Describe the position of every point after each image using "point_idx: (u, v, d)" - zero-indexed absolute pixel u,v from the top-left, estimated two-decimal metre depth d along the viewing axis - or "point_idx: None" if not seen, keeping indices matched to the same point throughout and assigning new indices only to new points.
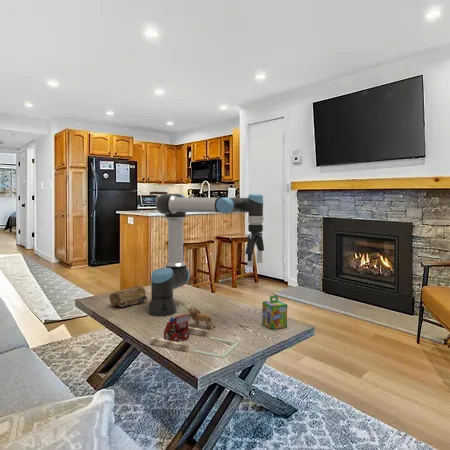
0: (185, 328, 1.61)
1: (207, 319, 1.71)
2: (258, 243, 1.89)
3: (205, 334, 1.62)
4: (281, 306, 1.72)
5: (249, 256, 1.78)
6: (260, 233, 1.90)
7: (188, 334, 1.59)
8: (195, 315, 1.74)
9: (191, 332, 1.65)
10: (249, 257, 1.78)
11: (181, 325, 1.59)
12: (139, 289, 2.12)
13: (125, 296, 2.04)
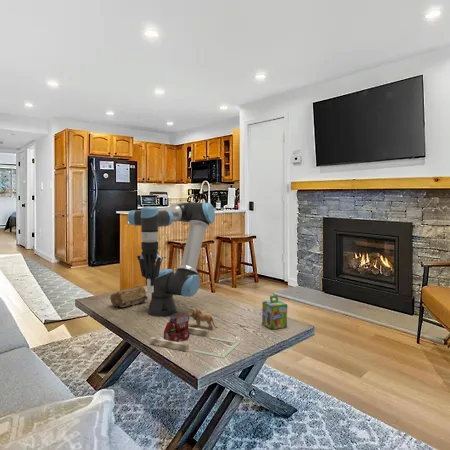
0: (185, 328, 1.61)
1: (209, 319, 1.71)
2: None
3: (205, 334, 1.62)
4: (281, 306, 1.72)
5: None
6: (158, 257, 1.60)
7: (188, 334, 1.59)
8: (197, 315, 1.74)
9: (191, 332, 1.65)
10: None
11: (181, 325, 1.59)
12: (140, 289, 2.12)
13: (127, 296, 2.03)
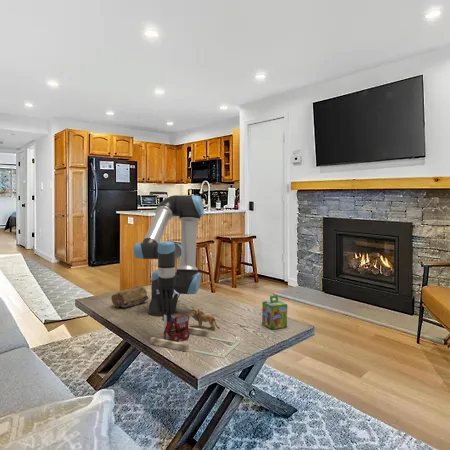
0: (185, 328, 1.61)
1: (211, 320, 1.70)
2: None
3: (205, 334, 1.62)
4: (281, 306, 1.72)
5: None
6: (175, 293, 1.57)
7: (188, 334, 1.59)
8: (198, 316, 1.73)
9: (191, 332, 1.65)
10: None
11: (181, 325, 1.59)
12: (141, 289, 2.12)
13: (128, 296, 2.03)
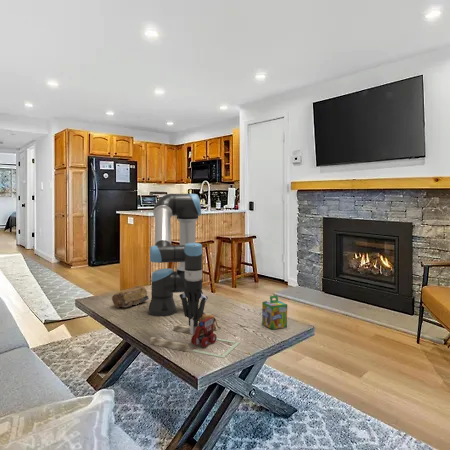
0: (211, 331, 1.57)
1: None
2: None
3: None
4: (281, 306, 1.72)
5: None
6: (203, 297, 1.51)
7: (215, 337, 1.56)
8: None
9: None
10: None
11: (208, 328, 1.55)
12: (141, 289, 2.12)
13: (129, 296, 2.03)
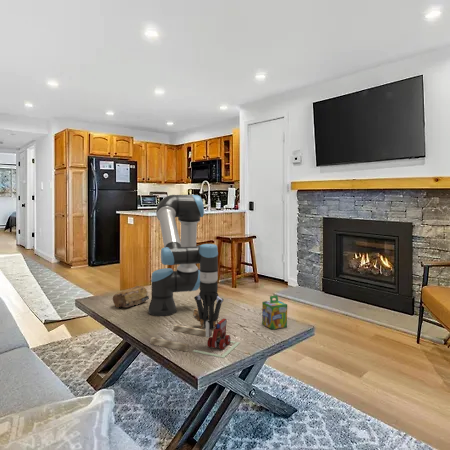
0: (224, 333, 1.55)
1: None
2: None
3: (205, 334, 1.62)
4: (281, 306, 1.72)
5: None
6: (219, 299, 1.48)
7: (230, 338, 1.54)
8: None
9: (191, 332, 1.65)
10: None
11: (223, 330, 1.53)
12: (141, 289, 2.12)
13: (130, 296, 2.03)
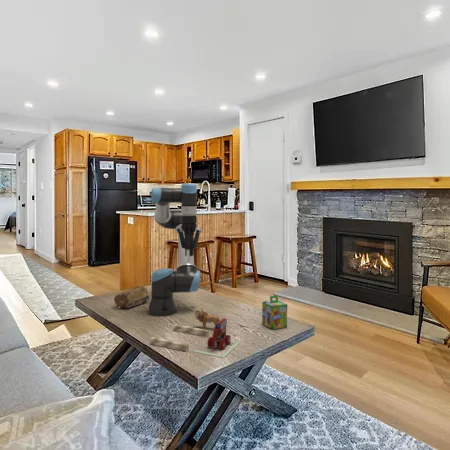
0: (224, 333, 1.55)
1: (216, 320, 1.69)
2: None
3: (205, 334, 1.62)
4: (281, 306, 1.72)
5: None
6: (197, 230, 1.74)
7: (230, 338, 1.54)
8: (203, 317, 1.72)
9: (191, 332, 1.65)
10: None
11: (223, 330, 1.53)
12: (142, 289, 2.12)
13: (132, 296, 2.03)
